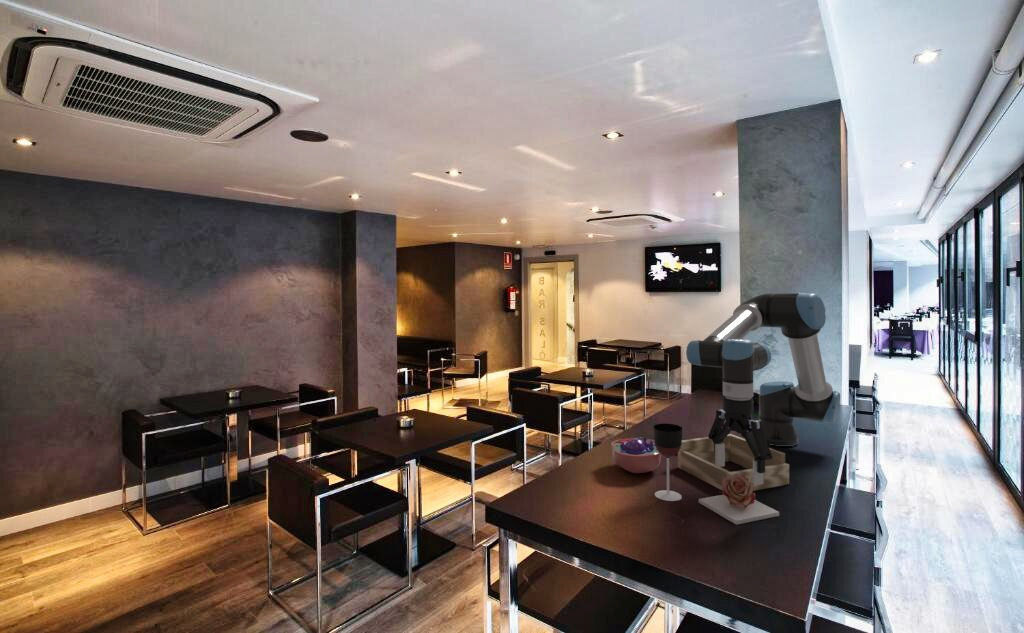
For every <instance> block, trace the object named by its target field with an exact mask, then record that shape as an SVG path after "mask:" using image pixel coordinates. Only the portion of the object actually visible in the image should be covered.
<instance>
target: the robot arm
mask: <svg viewBox="0 0 1024 633" xmlns="http://www.w3.org/2000/svg"><path fill="white" fill-rule="evenodd" d="M826 316H827V315H826V307H825V304H824V300H823V299H822V298H821V297H820V296H819V295H818V294H816V293H811V292H810V293H809V292H798V293H794V292H793V293H787V292H785V293H784V292H783V293H763V294H759V295H756V296H753V297H752V298H749V299H747V300H744V302H742V303H741V304H739V305H738V306H737V307H736V308H734V311H733V313H732V315H731V316H730V317H729V318H727V319H726V320H725V321H724V322H723V323H722V324H721V325H720V326H718V327H717V328H716V329H715V330H714V331H713V332H712V333H710V334H709V335H708V336H707V337H706V338H704V340H700V339H697V340H691V341H690V342H688V344H687V346H686V351H685V353H686V359H687V361H688V363H689V364H691V365H696V366H700V367H712V368H722V395H723V397H722V409H716V412H715V418H714V420H713V424H712V426H711V428H710V431H709V433H708V436H707V437H708V438H709V439H712V440H713V443H714V453H715V467H721V468H723V467H725V466H726V462H725V444H724V443H721V442H724V439H725V438H726V437H727V435H728V434H731V432H736V433H737V434H740V435H741V437H742V438H743V439H745V440H746V442H747V444H748V446H749V448H750V449H751V451H752V453H753V455H754V457H755V459H753V485H760V484H763V473H765V461H766V460H771V459H772V455H771V452H770V449H769V448H770V447H769V446H770V445H768V444H774V445H793V444H796V443H798V444H799V436H798V435H797V433H796V427H795V424H794V418H795V419H800V420H805V421H811V422H818V423H828V424H829V423H830V424H832V423H834V422H835V421H836V420H837V419H838V418H837V417H838V414H839V411H840V406H841V405H840V404H841V393H840V392H839V391H837V390H834V389H833V386H832V385H831V383H829V382H828V381H827V380H826V379H827V378H826V375H825V370H824V369H825V368H824V365H823V359H822V352H821V348H820V342H819V338H818V334H819V333H820V331H821V330H822V328H824V326H825V323H826V318H827V317H826ZM759 328H780V330H781V333H782V335H783V336H784V337H785V338H787V339H788V343H789V348H790V353H791V356H792V361H793V366H794V370H795V375H796V380H797V384H796V386H795V383H794V382H792V381H769V382H764V383H762V384H760V386H759V394H758V397H759V398H758V407H759V409H758V410H759V413H758V416H759V419H758V420H754V419H752V414H753V413H754V399H753V398H754V397H755V396H754V371H760V370H762V369H765V367H767V366H768V365H769V364H770V363H771V360H772V353H771V350H770V348H769V347H768V346H767V345H766V344H764V343H762V342H753V341H752V340H750V339H744V337H745V338H746V336H747V335H748V334H749V333H750V332H751V331H755V330H758V329H759ZM759 454H760V456H759Z"/></svg>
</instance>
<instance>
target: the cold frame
mask: <svg viewBox="0 0 1024 633" xmlns="http://www.w3.org/2000/svg"><path fill="white" fill-rule="evenodd" d="M688 439H689V440H682V443H681V447H680V450H679V452H678V455H677V468H679V469H680V470H682V471H684V472H686V473H688V474H690V475H691V476H694V477H696V478H697V479H699V480H701V481H704V482H705V483H707V484H709V485H711V486H713V487H715V488H717V489H719V490H720V491H721V492H723V489H722V479H723V478H728V477H730V476H732V475H734V474H738V475H739V476H745V478H748V479H749V482H751V483H753V459H755V457H754V455H753V453H752V451H751V449H750V448H749V446H748V444H747V442H746V440H745V438H744V437H742V436H741V437H740V436H737V435H734V434H732V433H729V434H728V435H727V437H726V438H725V439H724V442H721V443H724V444H725V463H728V462H731V461H732V462H731V463H733V462H734V464H736V465H738V464H739V465H738V466H740V465H741V467H742V468H745V469H742V470H735V471H729V470H728V469H725V468H723V467H715V453H714V443H713V440H712V439H709V438H708V436H705V437H697V438H688ZM769 449H770V452H771V455H772V459H771V460H766V461H765V473H763V484H760V485H753V486H751V487H754V489H753V492H754V491H759V490H764V489H766V490H767V489H770V488H776V487H783V486H786V485H787V484H788V485H790V464H789V463H786V453H785V452H783V451H779V450H776V449H774V448H771V447H769ZM759 456H760V454H759Z"/></svg>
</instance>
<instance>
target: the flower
mask: <svg viewBox="0 0 1024 633" xmlns="http://www.w3.org/2000/svg"><path fill="white" fill-rule="evenodd" d="M751 486H753V483H751V482H749V479H748V478H745V476H739V475H738V474H734V475H732V476H730V477H728V478H723V479H722V489H723V491H721V490H720V491H718V493H722V495H725V496H726V498H727V499H728V500H729V502H730V505H731V504H734V505H736V504H737V505H739V504H741V505H743V507H745V508H746V507H747V506H748V505H750V504H754V502H755V501H754V500H756V492H754V491H753V489H754V487H751Z"/></svg>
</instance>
